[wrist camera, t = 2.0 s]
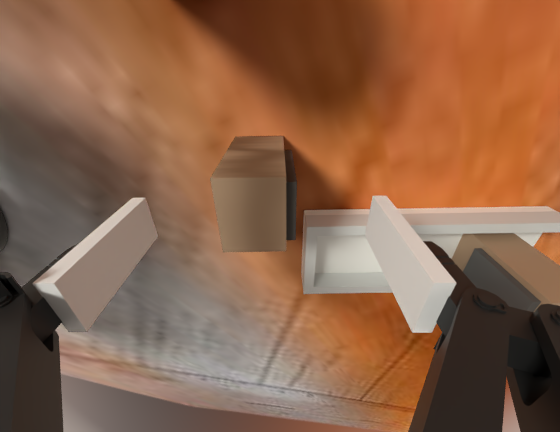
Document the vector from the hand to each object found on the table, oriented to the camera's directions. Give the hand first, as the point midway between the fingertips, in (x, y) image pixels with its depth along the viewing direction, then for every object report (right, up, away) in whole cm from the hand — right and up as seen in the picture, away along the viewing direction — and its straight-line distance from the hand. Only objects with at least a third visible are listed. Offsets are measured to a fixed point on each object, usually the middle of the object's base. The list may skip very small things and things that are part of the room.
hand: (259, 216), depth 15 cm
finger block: (0, +5, +7) cm, 9 cm away
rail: (+16, -3, +12) cm, 20 cm away
